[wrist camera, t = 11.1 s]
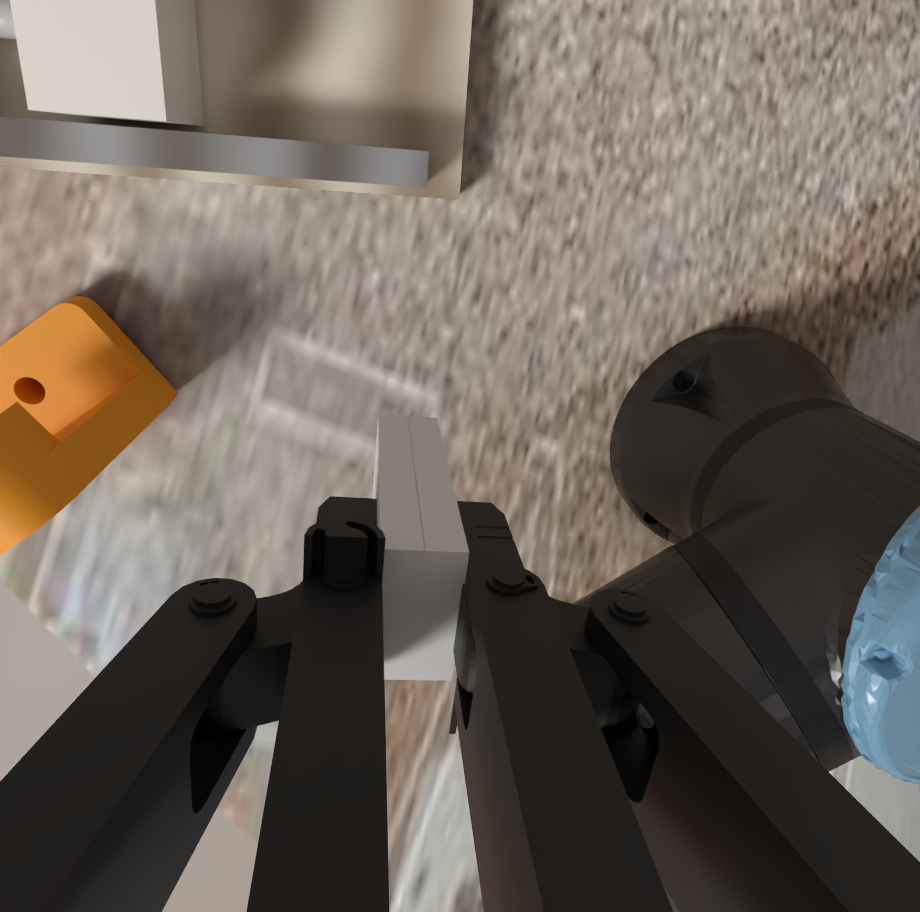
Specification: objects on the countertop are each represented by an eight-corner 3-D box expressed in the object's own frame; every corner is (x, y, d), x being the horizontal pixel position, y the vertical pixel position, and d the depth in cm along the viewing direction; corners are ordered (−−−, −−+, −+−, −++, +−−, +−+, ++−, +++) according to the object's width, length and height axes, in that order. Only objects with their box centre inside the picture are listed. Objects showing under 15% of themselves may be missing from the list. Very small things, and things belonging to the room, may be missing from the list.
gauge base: (472, -69, 32) (513, -152, 23) (454, 197, 37) (483, 213, 28) (-237, -162, 28) (-523, -308, 19) (-152, 153, 33) (-347, 156, 24)
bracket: (88, 285, 37) (-26, 343, 26) (181, 388, 40) (113, 478, 29) (-56, 392, 38) (-223, 488, 27) (44, 484, 41) (-70, 603, 30)
